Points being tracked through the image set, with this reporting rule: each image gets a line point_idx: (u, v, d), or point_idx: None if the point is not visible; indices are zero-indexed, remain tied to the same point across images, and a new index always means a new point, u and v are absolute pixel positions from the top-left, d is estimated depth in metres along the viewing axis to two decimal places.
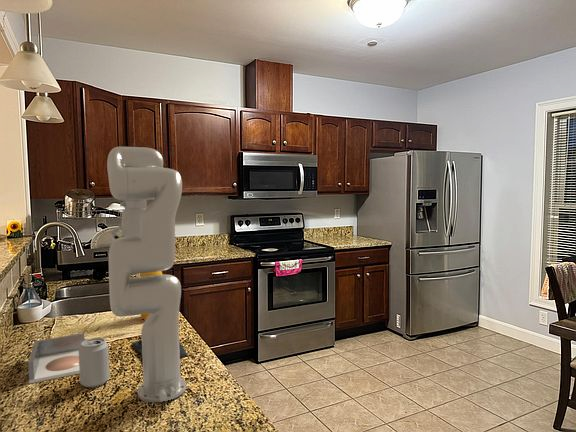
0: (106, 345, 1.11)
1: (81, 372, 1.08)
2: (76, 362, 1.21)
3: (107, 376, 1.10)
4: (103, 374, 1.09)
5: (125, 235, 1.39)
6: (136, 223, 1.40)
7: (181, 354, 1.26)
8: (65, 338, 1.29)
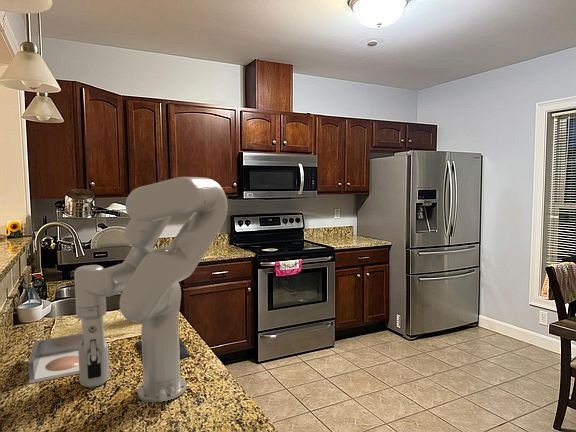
0: (106, 345, 1.11)
1: (81, 372, 1.08)
2: (76, 362, 1.21)
3: (107, 376, 1.10)
4: (102, 374, 1.09)
5: (104, 349, 1.08)
6: None
7: (183, 354, 1.26)
8: (65, 338, 1.29)
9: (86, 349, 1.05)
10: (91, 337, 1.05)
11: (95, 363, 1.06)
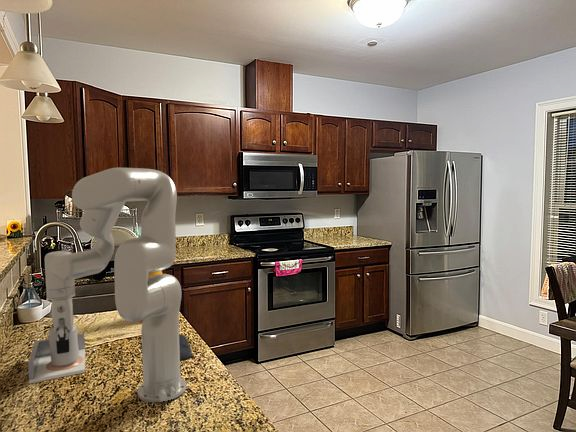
0: (74, 328, 1.20)
1: (51, 353, 1.17)
2: (76, 362, 1.21)
3: (76, 356, 1.20)
4: (71, 354, 1.19)
5: (72, 328, 1.18)
6: (72, 311, 1.21)
7: (186, 355, 1.25)
8: None
9: (55, 327, 1.15)
10: (59, 316, 1.15)
11: (63, 339, 1.15)
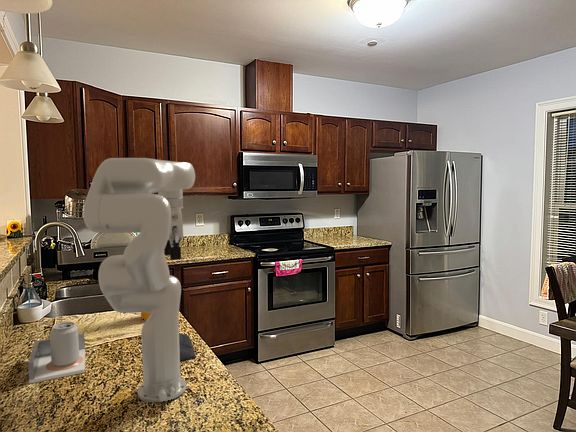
0: (75, 328, 1.20)
1: (52, 352, 1.18)
2: (76, 362, 1.21)
3: (76, 357, 1.20)
4: (71, 355, 1.19)
5: None
6: None
7: (189, 356, 1.25)
8: None
9: (169, 234, 1.21)
10: (173, 224, 1.21)
11: (177, 245, 1.21)
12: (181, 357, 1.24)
